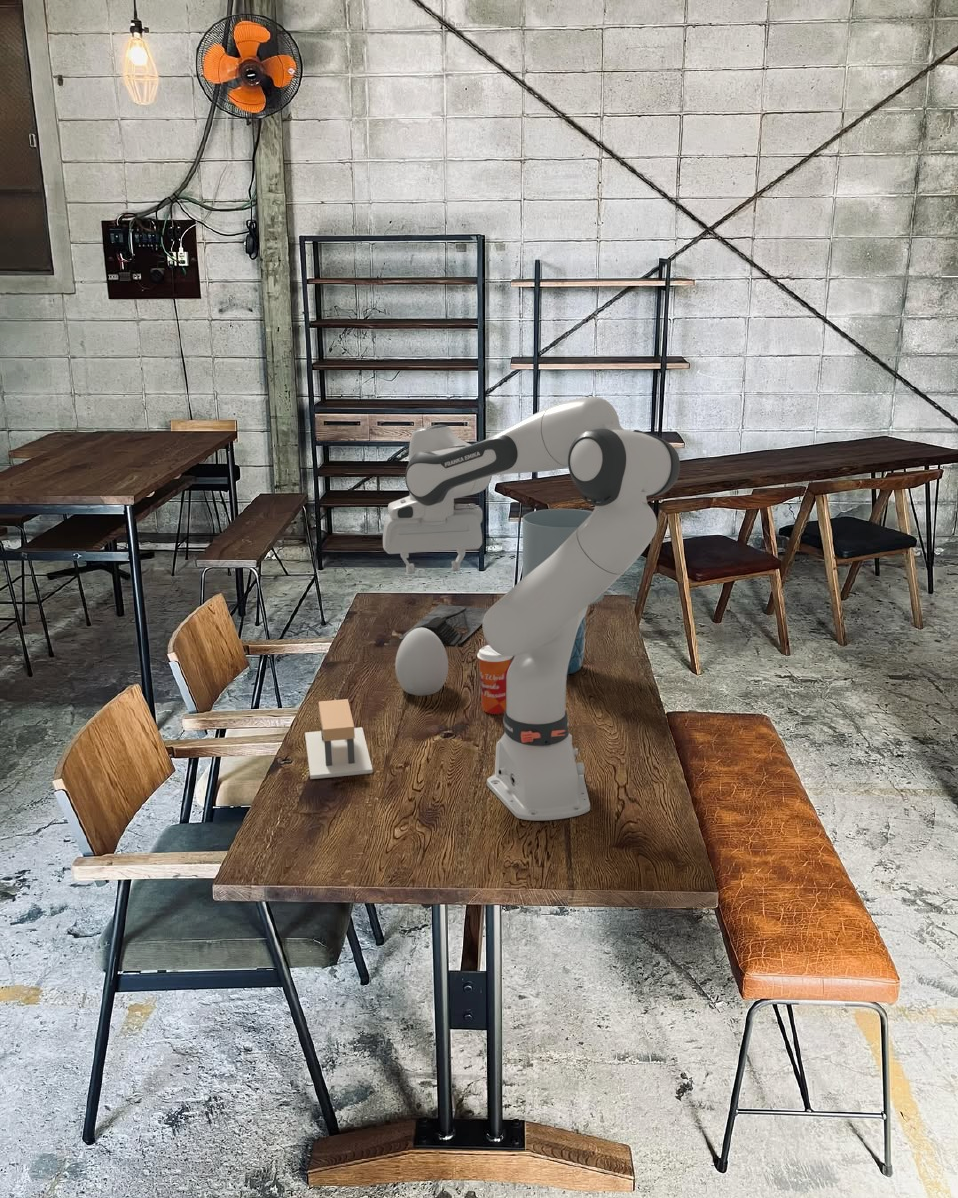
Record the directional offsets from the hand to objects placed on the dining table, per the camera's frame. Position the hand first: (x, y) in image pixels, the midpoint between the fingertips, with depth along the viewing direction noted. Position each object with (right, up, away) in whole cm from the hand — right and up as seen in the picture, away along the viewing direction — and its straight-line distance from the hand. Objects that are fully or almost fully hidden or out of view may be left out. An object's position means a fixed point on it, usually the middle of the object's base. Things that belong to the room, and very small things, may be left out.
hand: (433, 571), depth 217 cm
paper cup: (+13, -30, +18) cm, 37 cm away
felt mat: (-19, -37, -3) cm, 42 cm away
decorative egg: (-4, -27, +29) cm, 40 cm away
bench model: (-19, -36, -3) cm, 41 cm away
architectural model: (+1, -14, +72) cm, 73 cm away
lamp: (+29, -23, +40) cm, 55 cm away
